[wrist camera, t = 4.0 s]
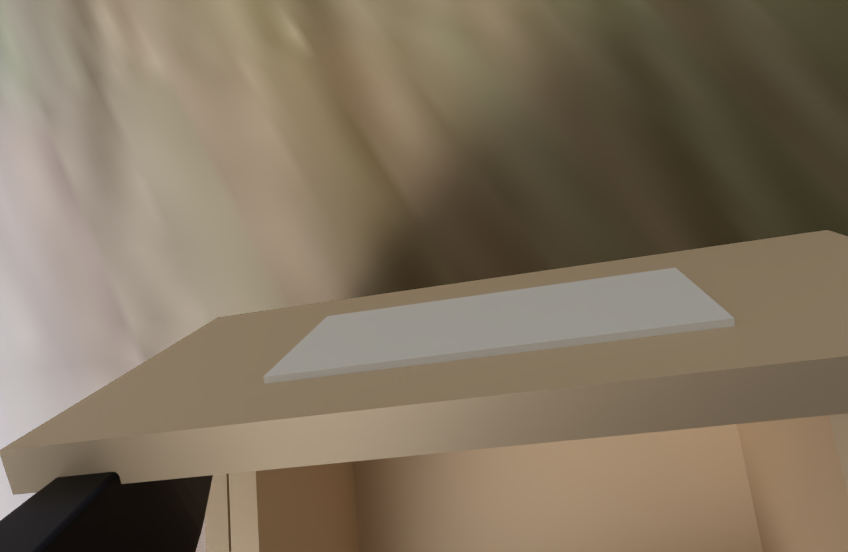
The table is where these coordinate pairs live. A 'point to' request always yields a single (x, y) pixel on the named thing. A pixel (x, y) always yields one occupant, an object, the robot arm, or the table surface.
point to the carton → (558, 496)
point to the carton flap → (475, 368)
